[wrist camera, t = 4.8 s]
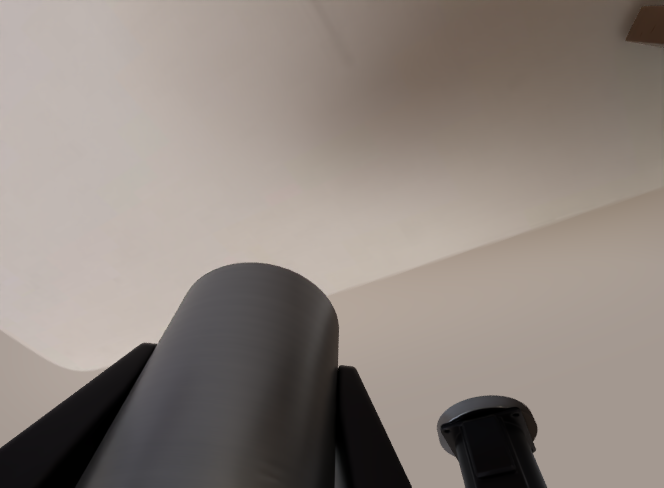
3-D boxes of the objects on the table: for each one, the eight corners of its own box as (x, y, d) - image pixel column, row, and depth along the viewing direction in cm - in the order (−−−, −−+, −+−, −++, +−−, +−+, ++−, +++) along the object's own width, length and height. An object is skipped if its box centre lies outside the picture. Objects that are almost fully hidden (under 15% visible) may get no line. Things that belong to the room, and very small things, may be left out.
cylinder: (364, 350, 11) (383, 697, 5) (242, 390, 12) (154, 707, 7) (287, 235, 9) (188, 601, 3) (150, 297, 10) (-92, 641, 5)
